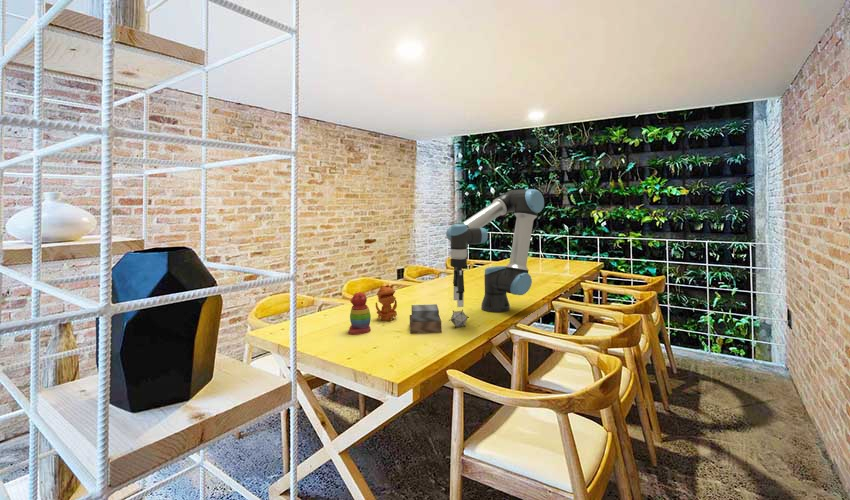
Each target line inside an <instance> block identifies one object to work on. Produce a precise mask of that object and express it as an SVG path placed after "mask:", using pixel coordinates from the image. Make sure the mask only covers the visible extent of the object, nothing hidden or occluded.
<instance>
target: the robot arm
mask: <svg viewBox="0 0 850 500" xmlns="http://www.w3.org/2000/svg"><path fill="white" fill-rule="evenodd" d="M544 207H545V199H544V196H543V194H542V192H541V191H540V190H538V189H533V188H528V189H527V188H525V189H512V190H508V191H507V192H504V193H502V194H501V195H500V196H497V197H496V198H494V199H493V200H492V203H491V204H489V205H487V206H485V207H484V208H483V209H481V210H480V211H478V212H477V213H475V214H473V215H472V216H470V217H468V218H467V219H466V220H464V221H462V222H461V223H458V224H457V223H455V224H452V225H451V226H450V227H448V228H447V230H446V232H445V234H446V239H447V240H448V241H449V242H450V250H449V252H448V253H449V254H450V259H449V260H450V262H449V263H450V267H451V268H453V282H452V284H453V301H456V303H457V306H456V308H464V307H465V306H464V297H465V296H464V294H465V281H464V278H465V277H464V270H463V268H466V267H467V266H468V259H467V258H468V245H480V244H484V243H486V242H487V240H488V238H489V233H488V231H487V230H486V228H484V227H485V226H486V225H487V224H489V223H490V222H492V221H494V220H495V219H497V218H498V217H500V216H504V215H506V214H508V213H513V214H514V217H516V218H515V219H516V220H515V225H514V233H513V237H512V245H511V252H510V257H509V263H508V264H507V265H506V266H505V265H500V266H499V265H498V266H497V265H496V266H490V267H486V268H485V269H484V275H483V276H484V295H483V299H482V300H481V310H483V311H486V312H489V313H504V312H508V311H510V310H509V309H511V308H510V302H509V301H510V300H509V299H508V295H507V294H511V295H515V296H524V295H525V294H526V293H528V292H529V291H530V289H531V287H532V282H533V281H532V280H533V279H532V276H531V275H530V273H529V272H530V271H529V269H528V267H527V263H528V256H529V250H530V245H531V244H530V243H531V239H532V238H531V237H532V231H533V226H534V220H535V219H537V218H538V213H540V212H542V210H543V209H544Z"/></svg>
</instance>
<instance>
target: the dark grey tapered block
mask: <svg viewBox="0 0 850 500" xmlns="http://www.w3.org/2000/svg"><path fill="white" fill-rule="evenodd" d="M439 310H440V309H439V308H438V304H437V303H436V304H411V314H409V334H439V333H442V320H441V317H440V316H441V315H440V311H439Z"/></svg>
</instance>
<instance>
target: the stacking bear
mask: <svg viewBox="0 0 850 500" xmlns="http://www.w3.org/2000/svg"><path fill="white" fill-rule="evenodd" d="M367 298H368V297H367V295H366V294H365V293H362V292H360V291H359V292H356V293H354V295H353V296H352V297H351V298H350V300H349V301H350V303H351V305H352V306H351V310H350V314H349V321H350V326H349V329H348V331H347V333H348V335H355V336H356V335H361V334H366V333H369V332H370V331H371V326H370V324H371V318H372V317H371V312H370V308H369V306H368V305H367V302H368V299H367Z"/></svg>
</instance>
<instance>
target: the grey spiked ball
mask: <svg viewBox="0 0 850 500" xmlns="http://www.w3.org/2000/svg"><path fill="white" fill-rule="evenodd" d="M452 312H453V313H452V315H451V317H450V319H449V320H448V322H449V321H450V322H451V323H452V324H453V325H454V329H457V328H459V327H460V328H461V327H464V328H466V327H467V326H466V323H467V321H468V319H470V316H468V315H467V314H466V313H465V312H464V309H461V310H457V311H455V310H452Z"/></svg>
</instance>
